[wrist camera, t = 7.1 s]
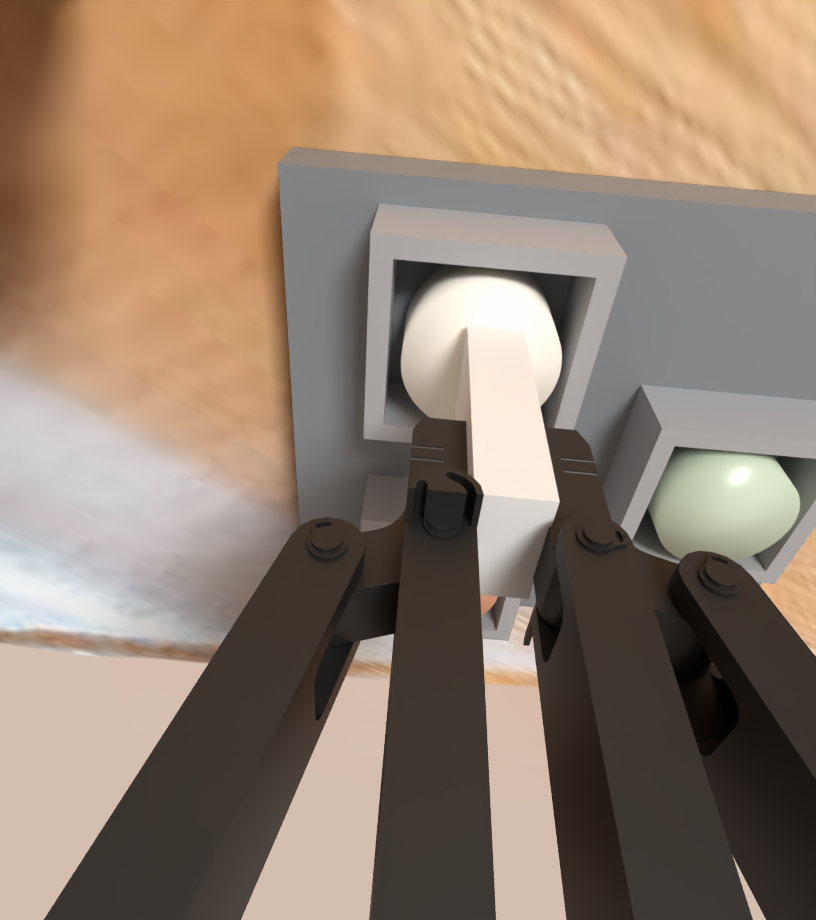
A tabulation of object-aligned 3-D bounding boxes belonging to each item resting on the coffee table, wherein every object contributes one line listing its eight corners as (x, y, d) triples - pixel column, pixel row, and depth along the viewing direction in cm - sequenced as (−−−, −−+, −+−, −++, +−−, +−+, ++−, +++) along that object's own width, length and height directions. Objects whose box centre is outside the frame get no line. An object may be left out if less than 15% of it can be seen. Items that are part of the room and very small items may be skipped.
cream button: (400, 382, 20) (395, 424, 18) (411, 249, 17) (406, 283, 15) (533, 394, 20) (542, 437, 18) (565, 263, 17) (580, 298, 15)
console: (310, 554, 29) (292, 633, 25) (292, 146, 18) (254, 188, 14) (716, 590, 29) (753, 673, 26) (958, 209, 18) (1083, 265, 14)
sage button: (624, 510, 23) (639, 557, 21) (663, 418, 20) (685, 462, 18) (737, 521, 23) (762, 568, 21) (791, 429, 20) (826, 475, 18)
